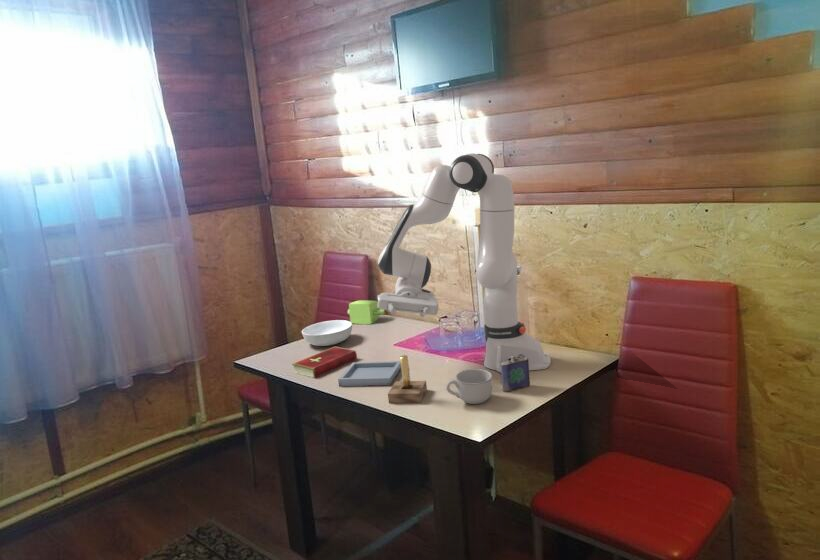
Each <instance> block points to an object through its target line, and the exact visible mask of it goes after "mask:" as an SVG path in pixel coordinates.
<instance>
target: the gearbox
mask: <svg viewBox="0 0 820 560" xmlns="http://www.w3.org/2000/svg"><path fill="white" fill-rule="evenodd" d="M377 304H378V300H369V299H366V300H363V299H362V300H361V299H359V300H356V301H353V302H350V303H348V309H347V315H349V321H350V322H351V323H352V324H356V325H358V324H359V325H372V324H374V323H375V322H377V321H378V320H380V317H379V315H385V312H386V311H385V310H382V309H379V308H377Z"/></svg>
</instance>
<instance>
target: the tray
mask: <svg viewBox="0 0 820 560" xmlns="http://www.w3.org/2000/svg"><path fill="white" fill-rule="evenodd" d="M399 371H400V372H401V363H400V360H398V361H397V360H395V361H393V360H392V361H361V362H359V361H358V362H354V361H353V362H351V363H350V365H349V366H348V367H347V368H346V370H344V372H343V373H342V374H341V375H340V376H339V378H338V379H337V380H338V381H337V382H338V387H367V386H368V385H388V386H391V385H392V384H393V383H392V382H394V381H395V380H396V378H397V377H398V375H399V373H400V372H399ZM364 385H365V386H364ZM368 387H369V386H368Z"/></svg>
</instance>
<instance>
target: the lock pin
mask: <svg viewBox="0 0 820 560" xmlns="http://www.w3.org/2000/svg"><path fill="white" fill-rule="evenodd" d="M399 361H400V363H401V370H400V372H401V377H402V381H403V388H404V389H411V382H410V381H411V375H410V365H409V356H408V355H407V354H405V355H400V356H399Z"/></svg>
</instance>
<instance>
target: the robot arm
mask: <svg viewBox="0 0 820 560" xmlns="http://www.w3.org/2000/svg"><path fill="white" fill-rule="evenodd" d="M460 189H462V190H464V191H465V190H466V191H469V192H471V193H473V194H474V193H478V196H479V222H480V223H479V241H478V242H479V243H478V252H477V260H476V261H477V262H476V263H477V264H476V273H475V276H476V279H477V281H478V283H479V284H480V285H481V286H482V287H484V292H483V294H484V295H483V312H484V313H483V314H484V325H483V326H484V327H483V332H484V339H485V342H486V343H485V356H484V362H483V366H484V367H486V368H487V369H491V370H493V371H496V372H498V373H501V363H503V362H507V361H510V360H511V358H512V357H511V355H513V354H514V355H515V357H516V358H520V357H522V358H527V359H528V363H529V372H530V371H536V370H537V371H539V370H540V371H541V370H545V369H548V368H549V367H550V366H551V364H552V361H551V360H552V359H551V356H550V354H548V353H546V352H545V351H544V348H543V346H542V343H541V342H540V340H538V339H536V338H535V337H533V336H531V335H530V334H528V333H526V331H527V330H526V326H525V323H524V322H523V321H522V322H520V321H519V316H518V315H519V314H518V313H519V312H518V303H517V302H518V301H517V298H518V297H517V294H518V261H517V260H518V259H517V256H516V255H515V253H514V252H513V247H514V246H513V244H514V236H515V196H514V189H513V184H512V181H511V179H510V178H509V177H508V176H506V175H503V174H495V166H494V163H493V161H492V159H490V157H489V156H487V155H485V154H482V153H467V154H463V155H460V156H458V157H456V158H455V159H454V160H453V161H452V162H451V164H450V165H448V164H447V165H446V164H438V165H437V166H435V167H433V168H432V170H431V172H430V174H429V176H428V178H427V180H426V181H425V185H424V188H423V189H422V192H421V195H420V198H419V199H418V200H417V201H416V202H415V203H414V204H410V205H408V207H406V209H405V210H404V212H403V213H402V215H401V217H400V219H399V220H398V222H397V224H396V227H395V228H394V230H393V232H392V234H391V236H390V238H389V240H388V241H387V243H386V245H385V246H384V248H383V249H382V251H380V253H379V257H378V260H377V266H378V268H379V270H380V271H381V272H382V274H383V275H388V276H395V277H398V278H397V280H396V283H395V285H394V286H395V287H394V291H395V292H394V293H391V292H381V293H380V294H377V296H376V297H377V303H378V304H377V308H378V310H380V309H382V310H384V311H389V312H390V314H392V315H394V314H395V315H396V312H403V313H411V314H419V317H421V318H425V317H426V315H429V316H437V315H438V313H439V312H438V311H439V302H438V299H437V298H436V297H435V296H434V294H435V293H434V292H433V291H431V290H428V289H424V288H425V286H427V284H428V282H429V279H430V276H431V272H432V271H431V270H432V263H431V260H430V259H429V257H428V256H427V255H423V254H422V253H421V254H420V253H417V252H413V251H409V250H406V249H403V248H400V246H401V244H402V242H403V240H404V238H405V236H406V234H407V233H408V231H409V230H410V229H411V228H412V227H416V226H421V225H433V224H437V223H441V222H442V221H444V220H445V219H447V218H448V216H449V215H450V213H451V212H452V211H451V210H452V208H453V206H454V203H455V200H456V197H457V194H458V192H459V191H460Z"/></svg>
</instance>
